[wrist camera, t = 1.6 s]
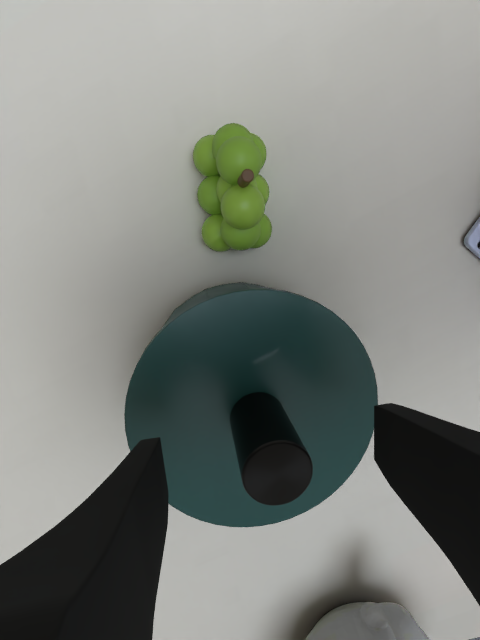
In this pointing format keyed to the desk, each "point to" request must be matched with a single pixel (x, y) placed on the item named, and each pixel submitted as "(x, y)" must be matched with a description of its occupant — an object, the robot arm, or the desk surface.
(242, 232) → the grapes
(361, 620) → the teacup
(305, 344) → the pot lid
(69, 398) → the desk surface
